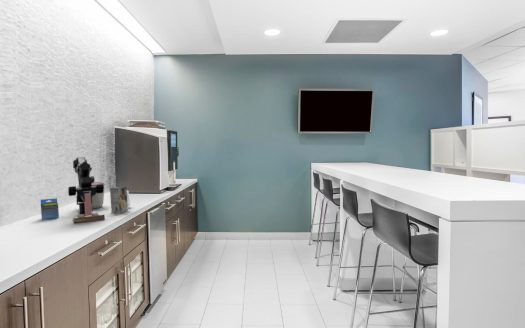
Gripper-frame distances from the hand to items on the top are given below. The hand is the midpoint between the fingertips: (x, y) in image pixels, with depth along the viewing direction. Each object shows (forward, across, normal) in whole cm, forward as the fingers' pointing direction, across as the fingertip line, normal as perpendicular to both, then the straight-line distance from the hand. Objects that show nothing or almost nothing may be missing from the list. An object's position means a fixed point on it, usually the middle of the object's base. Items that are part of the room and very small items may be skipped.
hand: (87, 200), depth 197 cm
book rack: (+7, 0, +9) cm, 12 cm away
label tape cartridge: (-9, -19, +26) cm, 33 cm away
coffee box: (-4, +20, +21) cm, 30 cm away
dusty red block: (+6, 0, +6) cm, 9 cm away
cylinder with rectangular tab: (-15, +25, +32) cm, 43 cm away
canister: (-26, +7, +43) cm, 50 cm away
